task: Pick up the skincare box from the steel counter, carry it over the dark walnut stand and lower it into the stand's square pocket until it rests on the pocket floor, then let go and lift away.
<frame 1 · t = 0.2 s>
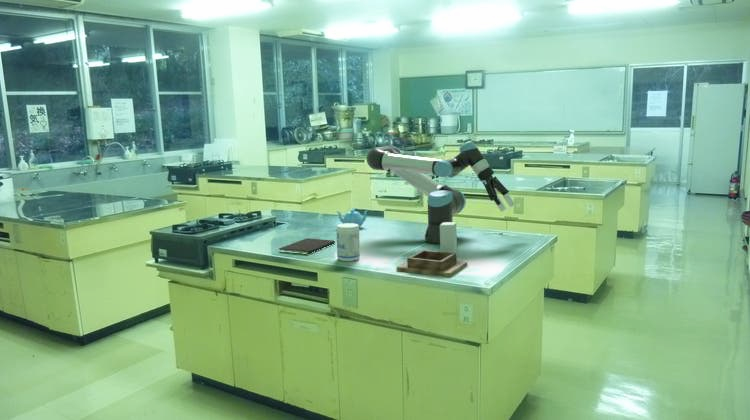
hand: (508, 208, 253), 15 cm above the countertop, tool tilted 35°, fingers open, 13 cm apart
bottle stand: (432, 268, 211), on the countertop
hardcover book: (307, 249, 252), on the countertop
supplement tub: (348, 259, 229), on the countertop
teapot: (352, 228, 297), on the countertop
skincare box: (448, 258, 226), on the countertop
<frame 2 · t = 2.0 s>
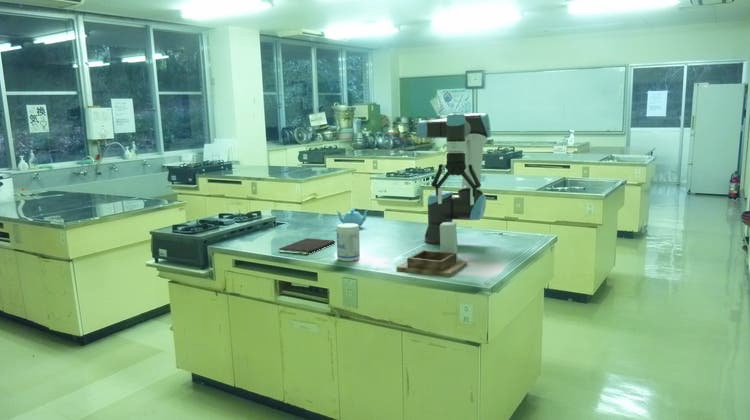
hand: (455, 204, 222), 23 cm above the countertop, tool pointing down, fingers open, 13 cm apart
nothing on the countertop moved.
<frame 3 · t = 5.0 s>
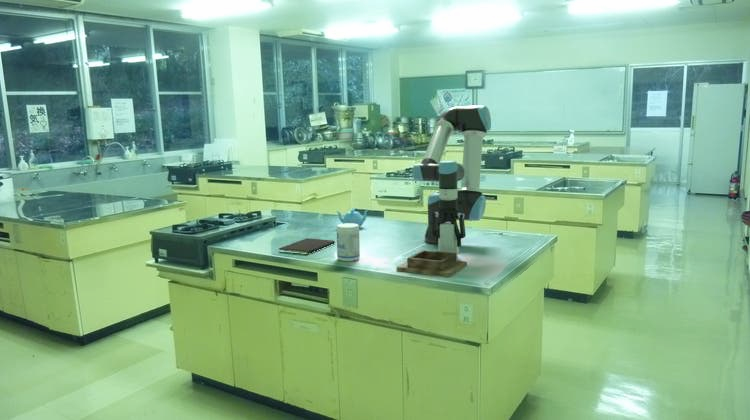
hand: (448, 253, 225), 2 cm above the countertop, tool pointing down, fingers closed on skincare box, 7 cm apart
skincare box: (448, 258, 226), on the countertop, touching gripper
everything else where it was.
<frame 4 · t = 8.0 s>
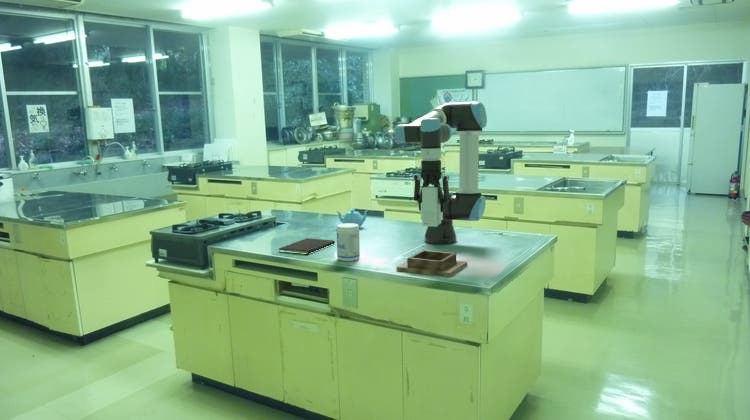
hand: (431, 219, 208), 19 cm above the countertop, tool pointing down, fingers closed on skincare box, 6 cm apart
skincare box: (431, 225, 209), point 17 cm above the countertop, touching gripper
everything else where it was.
when the fingers open (5 cm above the countertop, at t = 11.0 s): skincare box drops 1 cm, resting on bottle stand.
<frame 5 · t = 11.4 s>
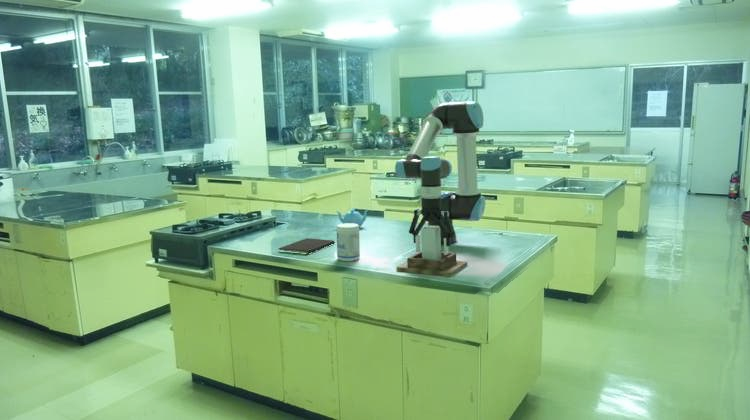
hand: (432, 252, 210), 6 cm above the countertop, tool pointing down, fingers open, 11 cm apart
skincare box: (431, 264, 211), point 1 cm above the countertop, touching bottle stand
everything else where it was.
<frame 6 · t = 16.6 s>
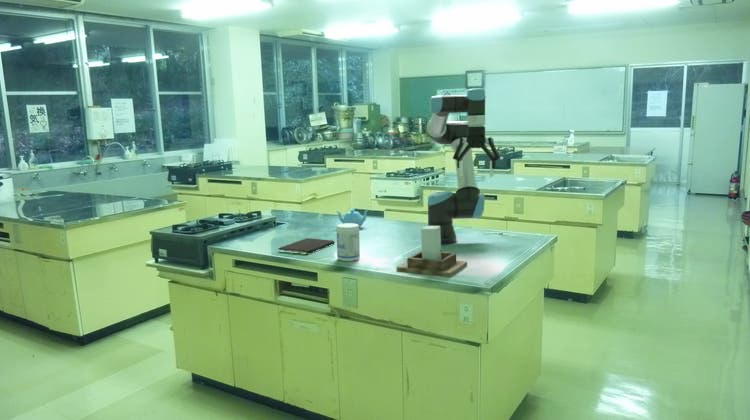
hand: (476, 176, 232), 33 cm above the countertop, tool pointing down, fingers open, 13 cm apart
nothing on the countertop moved.
at the end: skincare box inside the target area on the bottle stand (0.2 cm from its centre), point 1.3 cm above the bottle stand's base; skincare box tilted 0°; the gripper is holding nothing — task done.
